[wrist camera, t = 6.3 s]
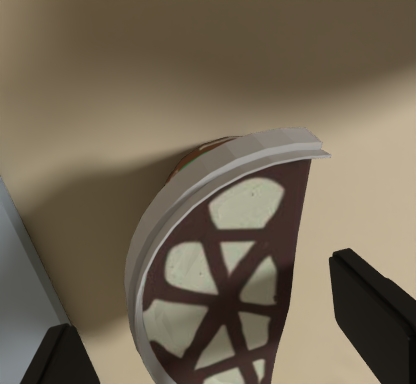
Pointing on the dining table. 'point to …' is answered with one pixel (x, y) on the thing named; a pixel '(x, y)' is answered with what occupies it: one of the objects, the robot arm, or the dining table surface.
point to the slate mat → (22, 295)
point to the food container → (220, 259)
